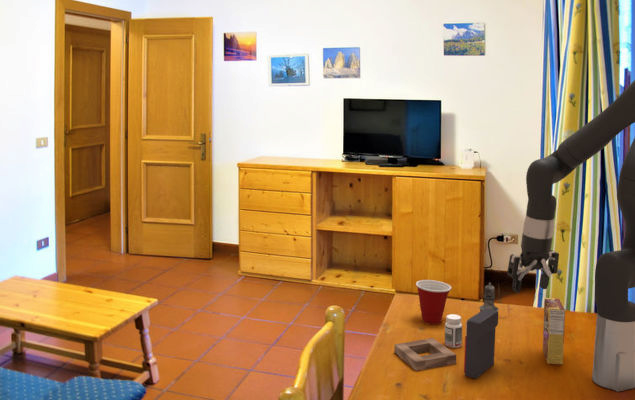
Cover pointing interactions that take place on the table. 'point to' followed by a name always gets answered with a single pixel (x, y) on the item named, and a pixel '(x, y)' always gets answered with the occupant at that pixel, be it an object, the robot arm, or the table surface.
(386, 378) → the table surface
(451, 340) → the pill bottle
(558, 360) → the candy box
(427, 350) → the gray square frame
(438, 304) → the plastic cup
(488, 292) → the rusty flanged peg
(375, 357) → the table surface
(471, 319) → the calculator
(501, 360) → the table surface
